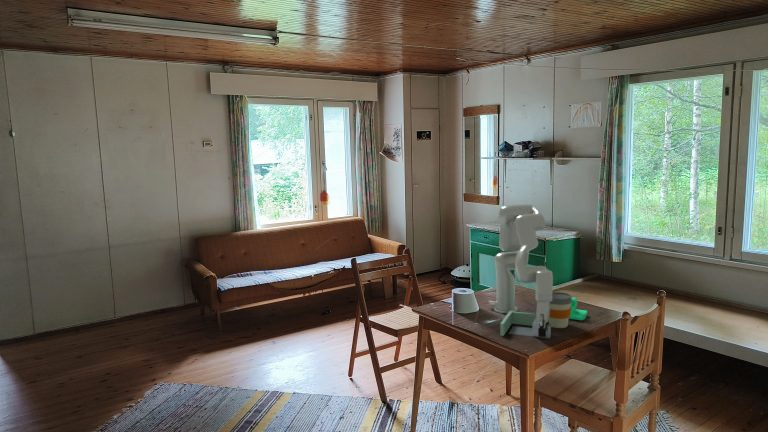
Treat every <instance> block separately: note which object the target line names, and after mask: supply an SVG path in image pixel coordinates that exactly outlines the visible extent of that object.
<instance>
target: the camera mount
mask: <svg viewBox="0 0 768 432" xmlns="http://www.w3.org/2000/svg"><path fill="white" fill-rule="evenodd" d="M577 305H578V298H577V297H572V303H571V313H570V317H569V320H575V321H576V320H577V321H584V320H585V319H586V318H587V316H588V311H587V310H586V309H585V310H584V309H583V310H582V309H577V308H576V307H577Z"/></svg>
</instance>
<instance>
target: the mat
mask: <svg viewBox="0 0 768 432" xmlns="http://www.w3.org/2000/svg"><path fill="white" fill-rule="evenodd" d="M508 335H515V336H524V337H532V338H533V337H535V336H532V327H523V326H517V325H513V326H512V328H511V329H510V331H509V332H508Z"/></svg>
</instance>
